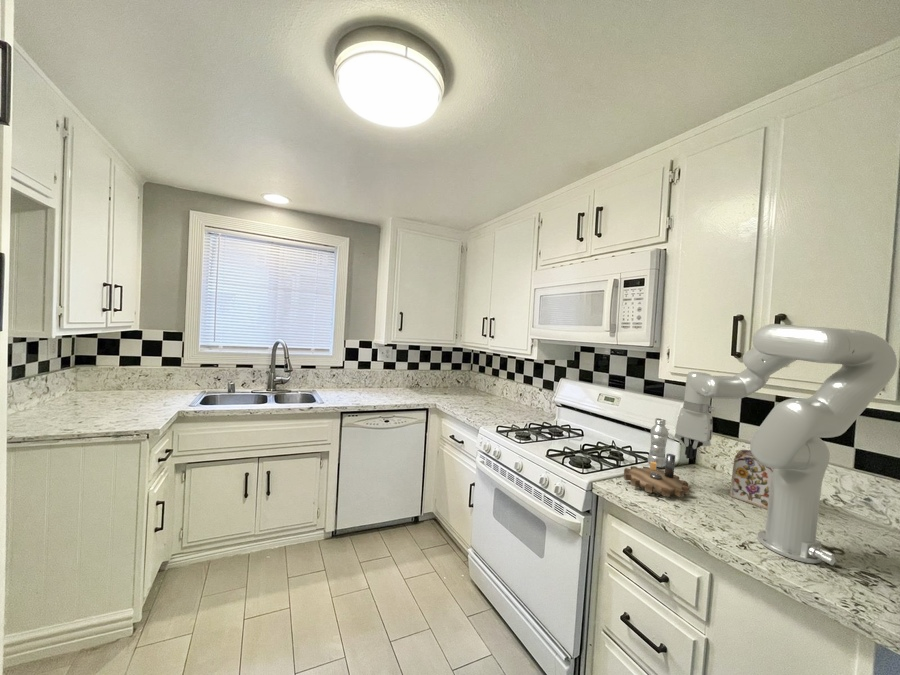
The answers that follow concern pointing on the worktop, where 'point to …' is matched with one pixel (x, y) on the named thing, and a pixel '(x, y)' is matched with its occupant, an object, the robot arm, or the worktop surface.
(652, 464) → the timing post
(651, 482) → the sprocket
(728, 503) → the worktop surface
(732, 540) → the worktop surface
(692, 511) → the worktop surface
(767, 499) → the decorative jar
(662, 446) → the plastic bottle
